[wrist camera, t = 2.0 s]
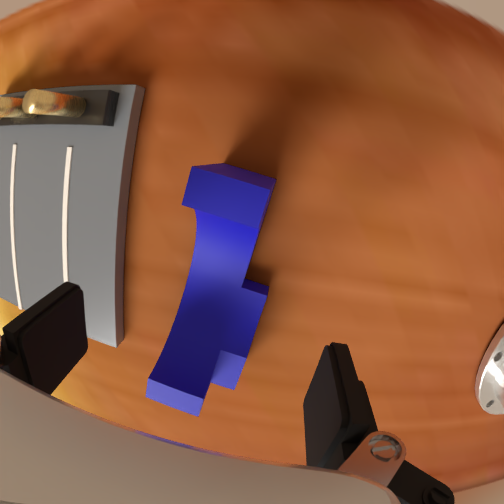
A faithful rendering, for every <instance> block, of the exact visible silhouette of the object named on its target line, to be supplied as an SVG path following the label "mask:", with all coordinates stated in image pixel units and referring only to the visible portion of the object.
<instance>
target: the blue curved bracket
mask: <svg viewBox="0 0 504 504" xmlns="http://www.w3.org/2000/svg"><path fill="white" fill-rule="evenodd" d="M275 183H276V179H274V178H271V177H267V176H264V175H261V174H258V173H255V172H251V171H248V170H245V169H242V168H238V167H235V166H231V165H228V164H225V163H221V164H210V165H200V166H192V168H191V171H190V175H189V179H188V183H187V186H186V190H185V194H184V198H183V202H182V205H184V206H187V207H190V208H194V209H195V212H196V218H197V232H196V241H195V248H194V253H193V259H192V263H191V267H190V272H189V276H188V279H187V283H186V287H185V290H184V293H183V297H182V300H181V303H180V306H179V309H178V312H177V315H176V318H175V321H174V323H173V326H172V329H171V331H170V334H169V336H168V339H167V341H166V343H165V346H164V348H163V350H162V353H161V355H160V357H159V359H158V361H157V363H156V365H155V367H154V369H153V371H152V373H151V374H150V376H149V378H148V383H147V390H146V397H147V398H150V399H152V400H155V401H157V402H160V403H162V404H165V405H168V406H170V407H173V408H176V409H178V410H181V411H184V412H187V413H189V414H192V415H195V416H199V413H200V410H201V407H202V405H203V402H204V399H205V396H206V393H207V390H208V388H209V385H210V382H211V383H214V384H217V385H220V386H223V387H226V388H230V389H233V390H234V389H235V387H236V384H237V382H238V379H239V376H240V374H241V371H242V369H243V366H244V364H245V361H246V358H247V355H248V352H249V349H250V346H251V343H252V340H253V337H254V334H255V330H256V328H257V325H258V322H259V319H260V316H261V313H262V310H263V307H264V304H265V301H266V299H267V296H268V290H269V286H266V285H263V284H260V283H257V282H254V281H251V280H248V279H245V276H246V273H247V270H248V266H249V263H250V260H251V257H252V254H253V251H254V248H255V245H256V242H257V238H258V235H259V232H260V229H261V226H262V223H263V220H264V217H265V214H266V211H267V207H268V204H269V201H270V198H271V195H272V192H273V189H274V186H275Z"/></svg>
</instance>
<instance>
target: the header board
mask: <svg viewBox="0 0 504 504" xmlns="http://www.w3.org/2000/svg"><path fill="white" fill-rule="evenodd" d="M39 90H44V91H50V92H62V91H79V90H112V91H115V92H118V93H119V98H118V103H117V109H116V114H115V120H114V126H94V125H12V126H0V297H1V298H3V299H4V300H6V301H8V302H10V303H12V304H14V305H16V306H18V307H19V309H21V310H23V309H24V310H27V309H28V308H29V307H31V306H32V305H33V304H35V303H36V302H38V301H39V300H40V299H42V298H43V297H44V296H46V295H47V294H49V293H50V292H51V291H53V290H54V289H56V288H57V287H58V286H60V285H61V284H63V283H64V282H66V281H67V282H71V283H74V284H77V285H79V286H80V288H81V290H83V294H84V309H85V321H86V332H87V337H89V338H91V339H94V340H97V341H99V342H102V343H105V344H107V345H110V346H113V347H116V348H117V347H118V345H119V344H120V343H121V342H122V341H123V340H124V329H123V279H124V252H125V234H126V220H127V208H128V198H129V188H130V179H131V171H132V163H133V156H134V149H135V142H136V136H137V130H138V124H139V118H140V113H141V107H142V102H143V97H144V92H145V88H143V87H140V86H138V85H88V86H71V87H59V88H48V89H39ZM27 92H28V91H23V92H16V93H10V94H4V95H0V97H15V96H22V95H25V94H26V93H27Z"/></svg>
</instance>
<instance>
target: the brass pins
mask: <svg viewBox="0 0 504 504" xmlns="http://www.w3.org/2000/svg"><path fill="white" fill-rule="evenodd" d="M118 98H119V93H118V92H115V91H112V90H79V91H62V92H50V91H44V90H38V89H30V90H29V91H28V92H27V93H26V94H25V95H22V96H15V97H0V126H12V125H94V126H114V120H115V114H116V109H117V103H118Z"/></svg>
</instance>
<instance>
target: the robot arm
mask: <svg viewBox="0 0 504 504" xmlns="http://www.w3.org/2000/svg"><path fill="white" fill-rule="evenodd" d="M3 332H4V334H3V335H2V336H1V335H0V504H454V495H453V492H452V491H451V490H450V488H449V487H447V486H446V485H445V484H443V483H442V482H440V481H438V480H436V479H435V478H433V477H431V476H430V475H428V474H427V473H425V472H423V471H422V470H420V469H418V468H417V467H415V466H414V465H412V464H410V463H409V462H407V461H406V460H404V459H405V456H406V447H405V445H404V443H403V442H402V441H401V439H400V438H398V437H397V436H396V435H394V434H392V433H389V432H385V431H378V429H377V425H376V422H375V418H374V415H373V412H372V408H371V405H370V402H369V398H368V395H367V392H366V389H365V385H364V383H363V382H362V381H359V380H358V377H357V374H356V371H355V367H354V364H353V361H352V358H351V355H350V351H349V348H348V346H347V344H341V343H334V342H332V343H331V344H330V346H328V345H326V346H325V347H324V350H323V352H322V355H321V358H320V360H319V363H318V366H317V368H316V371H315V373H314V376H313V379H312V381H311V384H310V386H309V389H308V391H307V394H306V396H305V399H304V404H303V409H304V424H305V442H306V461H307V466H304V465H297V464H288V463H280V462H273V461H266V460H259V459H253V458H247V457H241V456H236V455H230V454H225V453H220V452H215V451H211V450H206V449H202V448H198V447H194V446H190V445H186V444H182V443H178V442H174V441H171V440H167V439H164V438H160V437H157V436H153V435H150V434H147V433H144V432H141V431H138V430H135V429H132V428H129V427H126V426H123V425H120V424H118V423H115V422H112V421H109V420H107V419H104V418H102V417H99V416H97V415H94V414H92V413H89V412H87V411H84V410H82V409H80V408H77V407H75V406H73V405H71V404H68V403H66V402H64V401H62V400H60V399H57V398H55V397H53V396H51V394H52V392H53V391H54V390H55V389H56V388H57V386H58V385H59V384H60V383H61V382H62V380H63V379H64V378H65V377H66V376H67V374H68V373H69V372H70V371H71V370H72V368H73V367H74V366H75V365H76V364H77V363H78V361H79V360H80V359H81V358H82V357H83V356H84V354H85V353H86V351H87V349H88V341H87V332H86V321H85V309H84V294H83V290H81V288H80V286H79V285H77V284H74V283H71V282H67V281H66V282H64V283H63V284H61V285H60V286H58V287H57V288H56V289H54V290H53V291H51V292H50V293H49V294H47V295H46V296H44V297H43V298H42V299H40V300H39V301H38V302H36V303H35V304H33V305H32V306H31V307H29V308H28V309H27V310H25V311H24V312H23V313H21V314H20V315H19V316H17V317H16V318H15V319H13V320H12V321H11V322H10V323H8V324H7V325H6V326H4V327H3ZM475 393H476V397H477V400H478V402H479V404H480V405H481V407H482V408H483V410H484V411H486V412H488V413H490V414H504V324H503V325H502V326H501V327H500V329H499V331H498V332H497V334H496V335H495V337H494V338H493V340H492V341H491V343H490V345H489V347H488V349H487V350H486V352H485V355H484V357H483V359H482V362H481V364H480V366H479V370H478V373H477V376H476V383H475Z"/></svg>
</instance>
